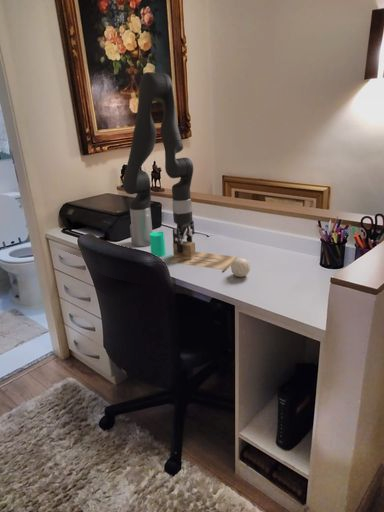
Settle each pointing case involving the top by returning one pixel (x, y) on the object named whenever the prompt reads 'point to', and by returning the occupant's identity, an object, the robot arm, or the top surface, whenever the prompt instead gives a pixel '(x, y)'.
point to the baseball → (240, 267)
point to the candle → (157, 243)
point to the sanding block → (185, 250)
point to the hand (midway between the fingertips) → (185, 249)
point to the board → (207, 260)
